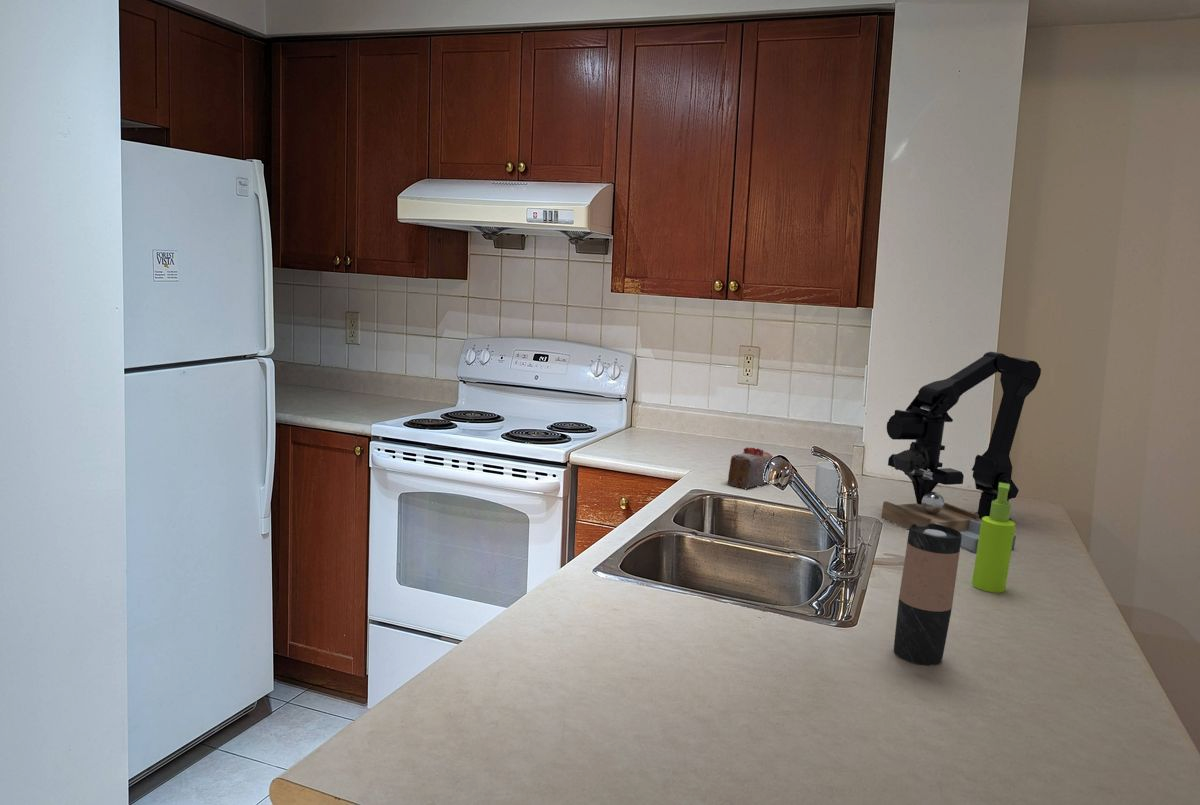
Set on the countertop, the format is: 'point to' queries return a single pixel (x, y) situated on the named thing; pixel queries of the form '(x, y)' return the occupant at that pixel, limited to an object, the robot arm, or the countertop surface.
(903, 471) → the robot arm
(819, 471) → the white cup
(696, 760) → the countertop surface
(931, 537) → the travel mug
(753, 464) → the food item
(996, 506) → the soap dispenser
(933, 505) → the ball
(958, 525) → the deck
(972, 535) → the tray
